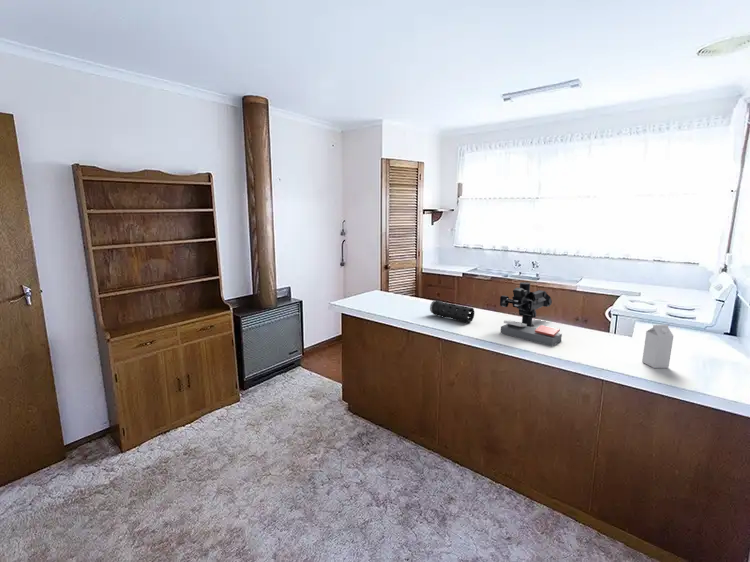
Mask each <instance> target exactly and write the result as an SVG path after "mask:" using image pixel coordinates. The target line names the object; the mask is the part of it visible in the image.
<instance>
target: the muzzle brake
mask: <svg viewBox="0 0 750 562" xmlns="http://www.w3.org/2000/svg"><path fill="white" fill-rule="evenodd" d="M429 311H430V313H431V314H433V315H435V316H439V317H440V316H443V317H446V318H449V319H452V320H453V319H454V320H455V321H457V320H459V321H458V322H462V321H463V322H462V323H466V322H467V324H471V322H473V320H474V317H475V309H474V307H471V306H464V305H460V304H459V305H458V304H454V303H449V302H445V301H444V302H443V301H442V300H433V301H431V303H430V306H429ZM443 317H442V318H443Z"/></svg>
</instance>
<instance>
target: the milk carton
mask: <svg viewBox="0 0 750 562" xmlns="http://www.w3.org/2000/svg"><path fill="white" fill-rule="evenodd" d="M652 326H653V327H652V328H650V329H648V330H646V331H645V340H644V345H643V346H644V347H643V353H642V360H641V362H642V363H643V364H645V365H646V366H649V367H651V368H654V369H668V368H669V366H670V360H671V355H672V350H673V349H672V347H673V343H674V342H673V341H674V334H673V332H672V331H671V329H670V328H669V324H654V325H652Z"/></svg>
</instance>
